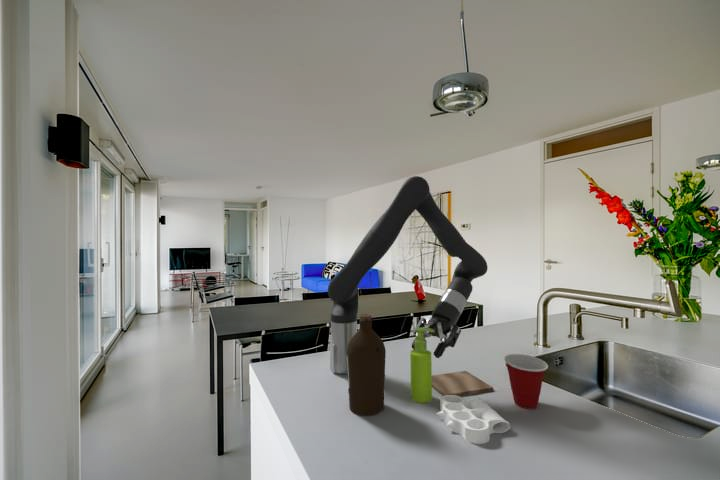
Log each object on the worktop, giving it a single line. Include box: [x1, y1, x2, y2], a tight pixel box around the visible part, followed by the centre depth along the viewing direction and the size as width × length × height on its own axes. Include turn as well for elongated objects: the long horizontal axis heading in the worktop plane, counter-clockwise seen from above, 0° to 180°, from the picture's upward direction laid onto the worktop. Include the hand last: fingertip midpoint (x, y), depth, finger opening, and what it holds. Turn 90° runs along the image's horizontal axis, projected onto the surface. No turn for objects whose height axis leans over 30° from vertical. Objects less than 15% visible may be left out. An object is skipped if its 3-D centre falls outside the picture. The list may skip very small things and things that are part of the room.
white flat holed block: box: [436, 395, 511, 445], centre depth 84 cm, size 3×18×15 cm
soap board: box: [432, 370, 494, 397], centre depth 106 cm, size 16×14×1 cm
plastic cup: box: [503, 353, 549, 410], centre depth 93 cm, size 11×11×12 cm
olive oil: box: [346, 313, 387, 416], centre depth 93 cm, size 11×11×25 cm
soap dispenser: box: [409, 327, 435, 404], centre depth 98 cm, size 6×7×20 cm
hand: (424, 352), depth 98 cm, fingers open, 8 cm apart
